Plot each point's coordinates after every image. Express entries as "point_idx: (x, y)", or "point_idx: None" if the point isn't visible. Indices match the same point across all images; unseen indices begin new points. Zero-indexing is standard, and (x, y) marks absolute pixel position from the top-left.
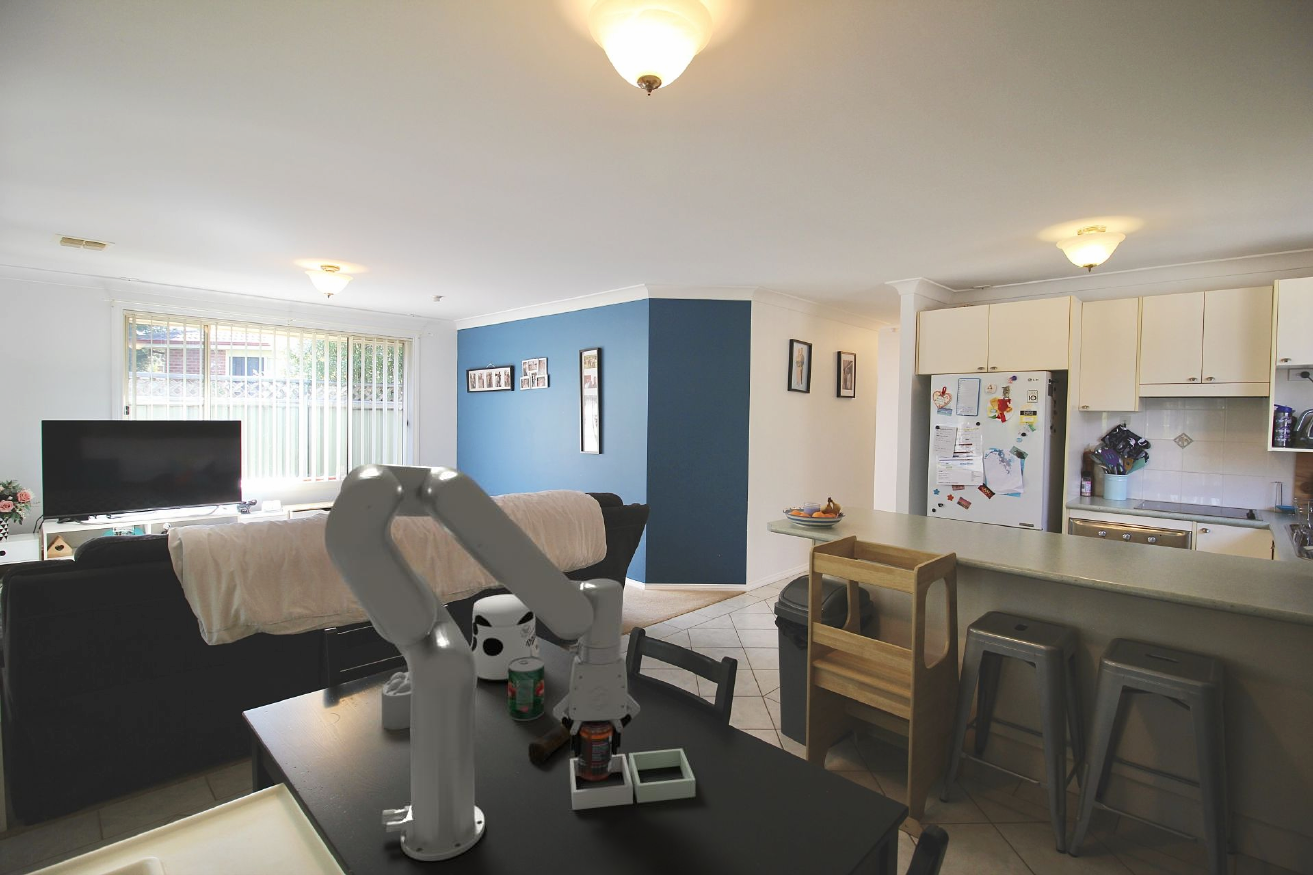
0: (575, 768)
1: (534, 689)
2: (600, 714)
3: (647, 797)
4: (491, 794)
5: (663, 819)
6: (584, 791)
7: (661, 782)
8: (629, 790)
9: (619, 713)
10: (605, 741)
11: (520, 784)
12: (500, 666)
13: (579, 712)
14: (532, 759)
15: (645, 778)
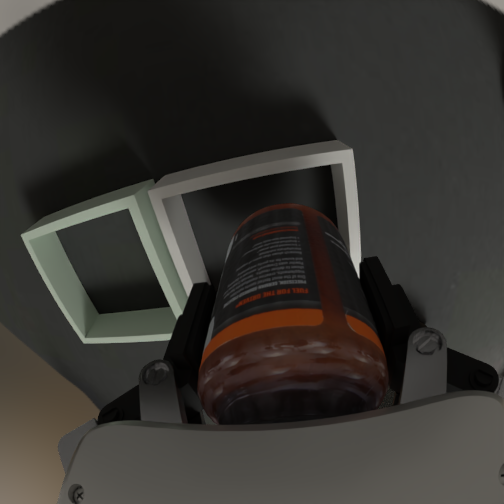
0: None
1: None
2: (256, 475)
3: (124, 189)
4: (499, 214)
5: (84, 123)
6: (312, 154)
7: (77, 217)
8: (161, 183)
9: (103, 454)
10: (231, 308)
11: (454, 246)
12: None
13: (466, 458)
14: (423, 324)
15: (154, 276)
